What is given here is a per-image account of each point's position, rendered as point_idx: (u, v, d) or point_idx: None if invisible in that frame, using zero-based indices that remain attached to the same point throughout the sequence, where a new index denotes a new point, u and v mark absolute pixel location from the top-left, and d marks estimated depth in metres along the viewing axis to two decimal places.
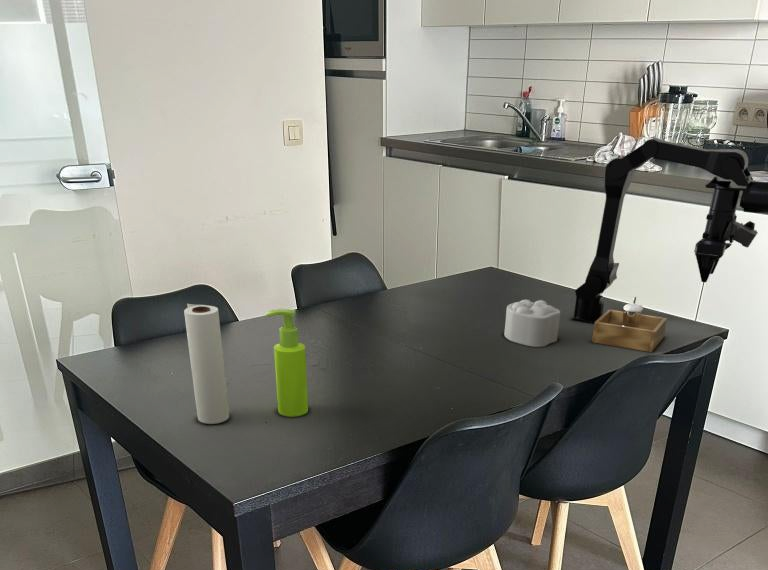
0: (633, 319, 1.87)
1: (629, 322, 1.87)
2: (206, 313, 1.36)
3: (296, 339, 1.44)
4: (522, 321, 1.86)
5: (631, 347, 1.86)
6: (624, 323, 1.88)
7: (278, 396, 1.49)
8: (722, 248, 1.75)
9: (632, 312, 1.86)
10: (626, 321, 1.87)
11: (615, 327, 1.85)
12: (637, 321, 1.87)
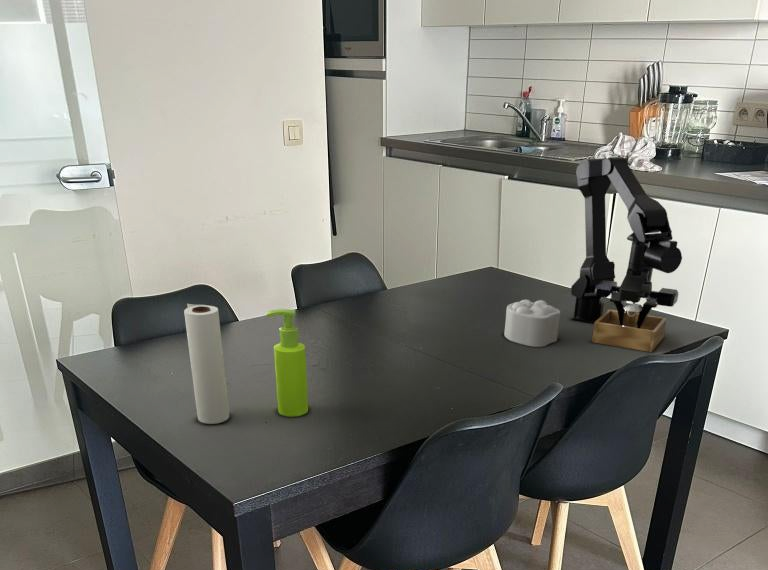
0: (633, 319, 1.87)
1: (629, 322, 1.87)
2: (206, 313, 1.36)
3: (296, 339, 1.44)
4: (522, 321, 1.86)
5: (631, 347, 1.86)
6: (624, 323, 1.88)
7: (278, 396, 1.49)
8: (596, 289, 1.87)
9: (632, 312, 1.86)
10: (626, 321, 1.87)
11: (615, 327, 1.85)
12: (637, 321, 1.87)
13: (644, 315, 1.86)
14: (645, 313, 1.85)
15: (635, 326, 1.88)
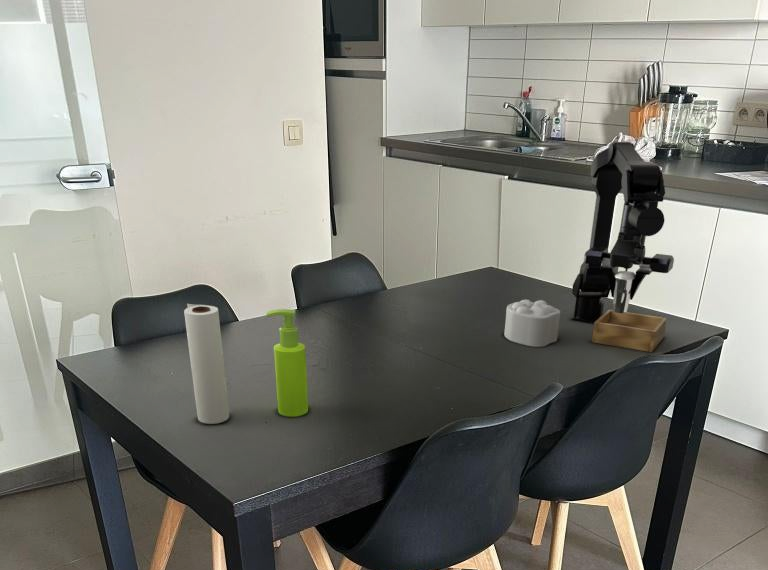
0: (625, 288, 1.73)
1: (621, 291, 1.74)
2: (206, 313, 1.36)
3: (296, 339, 1.44)
4: (522, 321, 1.86)
5: (631, 347, 1.86)
6: (616, 292, 1.75)
7: (278, 396, 1.49)
8: (585, 256, 1.74)
9: (624, 280, 1.72)
10: (618, 290, 1.74)
11: (615, 327, 1.85)
12: (629, 290, 1.74)
13: (637, 283, 1.73)
14: (638, 281, 1.72)
15: (627, 295, 1.75)
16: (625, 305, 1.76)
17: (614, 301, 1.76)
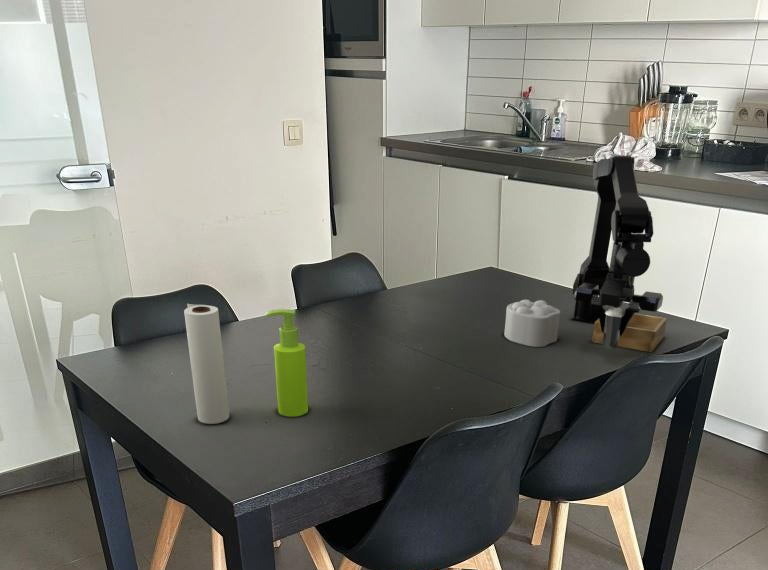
0: (615, 325, 1.75)
1: (610, 328, 1.76)
2: (206, 313, 1.36)
3: (296, 339, 1.44)
4: (522, 321, 1.86)
5: (631, 347, 1.86)
6: (606, 329, 1.77)
7: (278, 396, 1.49)
8: (575, 292, 1.76)
9: (614, 317, 1.74)
10: (608, 326, 1.76)
11: None
12: (619, 326, 1.76)
13: (627, 320, 1.75)
14: (628, 318, 1.74)
15: (617, 332, 1.77)
16: (615, 341, 1.78)
17: (604, 337, 1.78)
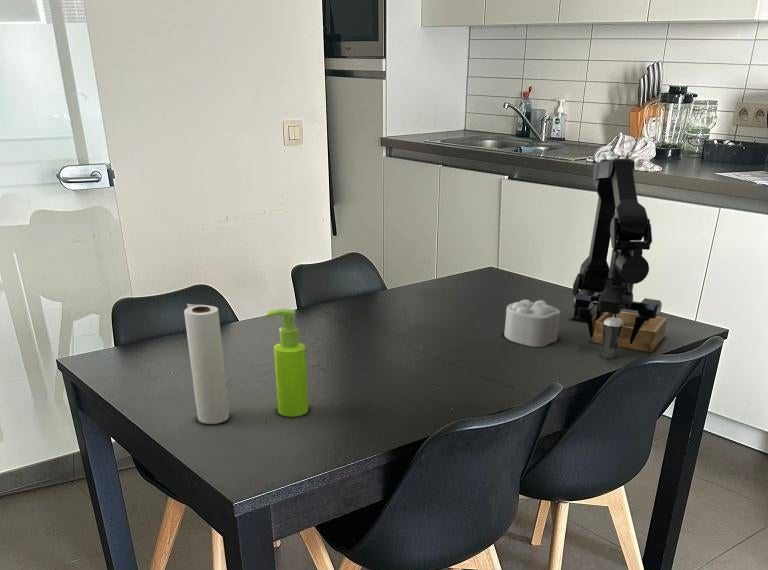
0: (613, 334, 1.77)
1: (609, 337, 1.77)
2: (206, 313, 1.36)
3: (296, 339, 1.44)
4: (522, 321, 1.86)
5: (631, 347, 1.86)
6: (604, 338, 1.78)
7: (278, 396, 1.49)
8: (574, 299, 1.77)
9: (613, 327, 1.76)
10: (606, 336, 1.77)
11: None
12: (618, 336, 1.77)
13: (637, 329, 1.74)
14: (638, 327, 1.74)
15: (616, 341, 1.78)
16: (613, 350, 1.79)
17: (603, 346, 1.80)
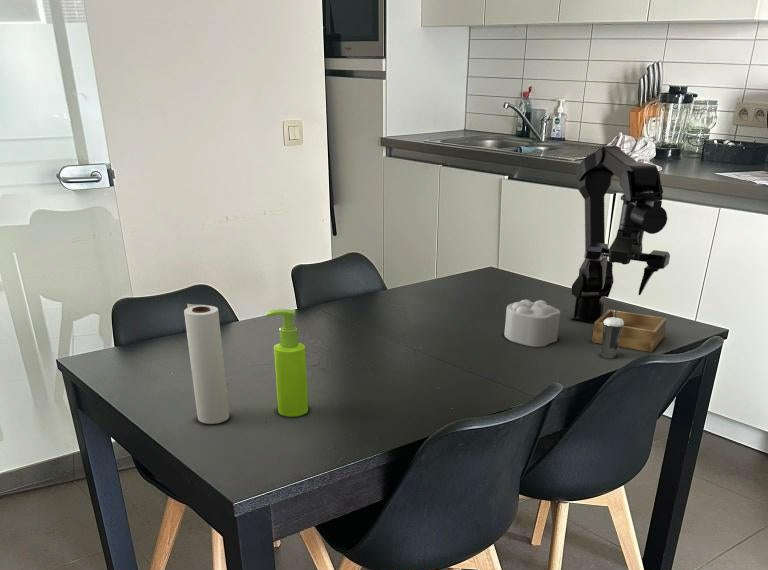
0: (613, 334, 1.77)
1: (609, 337, 1.77)
2: (206, 313, 1.36)
3: (296, 339, 1.44)
4: (522, 321, 1.86)
5: (631, 347, 1.86)
6: (604, 338, 1.78)
7: (278, 396, 1.49)
8: (586, 251, 1.83)
9: (613, 327, 1.76)
10: (606, 336, 1.77)
11: None
12: (618, 336, 1.77)
13: (645, 280, 1.81)
14: (646, 277, 1.80)
15: (616, 341, 1.78)
16: (613, 350, 1.79)
17: (603, 346, 1.80)
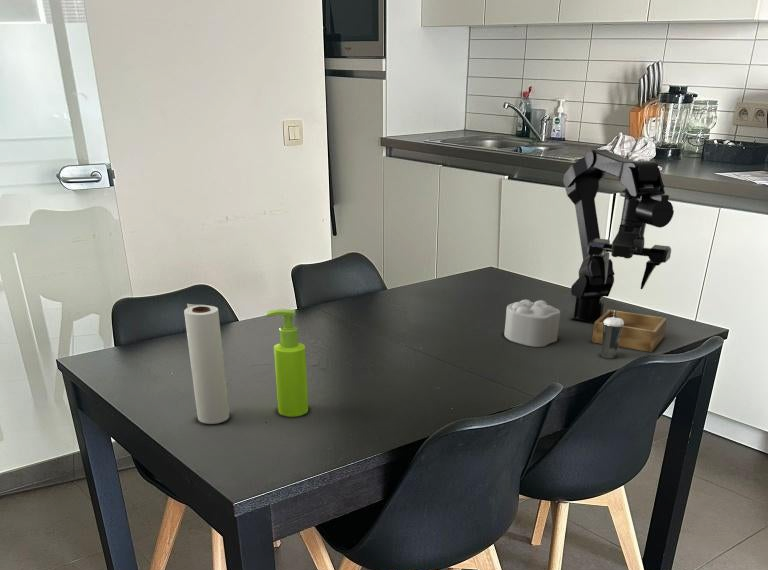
0: (613, 334, 1.77)
1: (609, 337, 1.77)
2: (206, 313, 1.36)
3: (296, 339, 1.44)
4: (522, 321, 1.86)
5: (631, 347, 1.86)
6: (604, 338, 1.78)
7: (278, 396, 1.49)
8: (588, 246, 1.86)
9: (613, 327, 1.76)
10: (606, 336, 1.77)
11: None
12: (618, 336, 1.77)
13: (647, 274, 1.84)
14: (648, 272, 1.83)
15: (616, 341, 1.78)
16: (613, 350, 1.79)
17: (603, 346, 1.80)
